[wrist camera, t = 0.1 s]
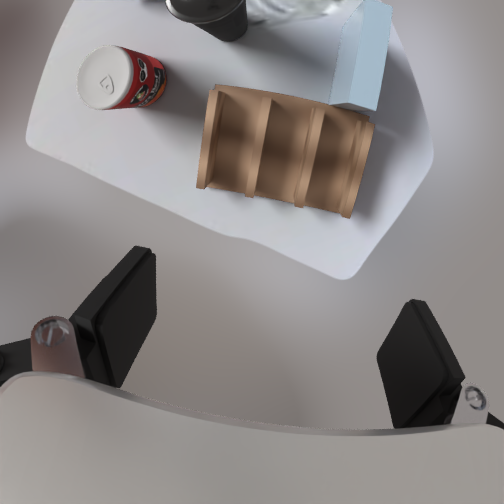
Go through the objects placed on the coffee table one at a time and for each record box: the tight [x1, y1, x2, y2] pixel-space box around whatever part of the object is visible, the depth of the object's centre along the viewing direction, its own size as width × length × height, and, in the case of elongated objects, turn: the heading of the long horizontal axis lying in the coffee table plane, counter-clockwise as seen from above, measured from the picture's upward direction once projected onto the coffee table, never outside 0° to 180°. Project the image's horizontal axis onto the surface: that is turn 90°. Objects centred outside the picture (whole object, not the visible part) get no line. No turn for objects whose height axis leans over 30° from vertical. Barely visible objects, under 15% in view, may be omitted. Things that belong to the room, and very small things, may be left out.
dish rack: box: [196, 84, 375, 219], centre depth 34 cm, size 14×20×6 cm
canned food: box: [76, 45, 166, 110], centre depth 29 cm, size 8×8×11 cm
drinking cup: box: [165, 0, 248, 41], centre depth 20 cm, size 8×8×20 cm
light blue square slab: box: [328, 0, 393, 111], centre depth 25 cm, size 12×3×12 cm, turn 170°
